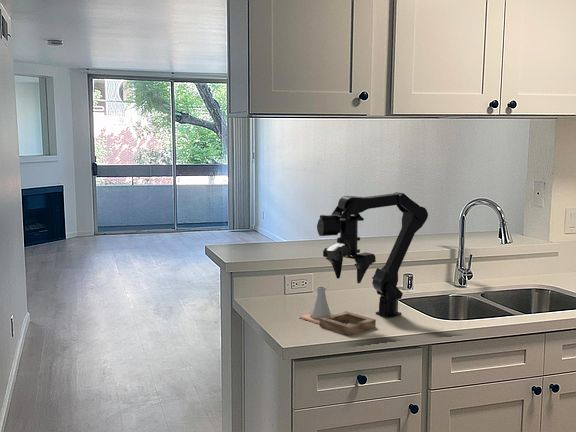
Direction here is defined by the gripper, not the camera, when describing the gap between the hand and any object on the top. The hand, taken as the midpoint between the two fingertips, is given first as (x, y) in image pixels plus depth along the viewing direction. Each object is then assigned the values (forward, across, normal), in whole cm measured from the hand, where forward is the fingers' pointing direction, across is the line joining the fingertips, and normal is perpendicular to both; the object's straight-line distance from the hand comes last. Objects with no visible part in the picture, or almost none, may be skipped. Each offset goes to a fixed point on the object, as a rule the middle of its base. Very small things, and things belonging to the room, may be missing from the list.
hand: (348, 280), depth 203 cm
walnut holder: (+13, +6, -7) cm, 16 cm away
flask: (+12, -6, -7) cm, 15 cm away
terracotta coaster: (+13, -6, -7) cm, 16 cm away
